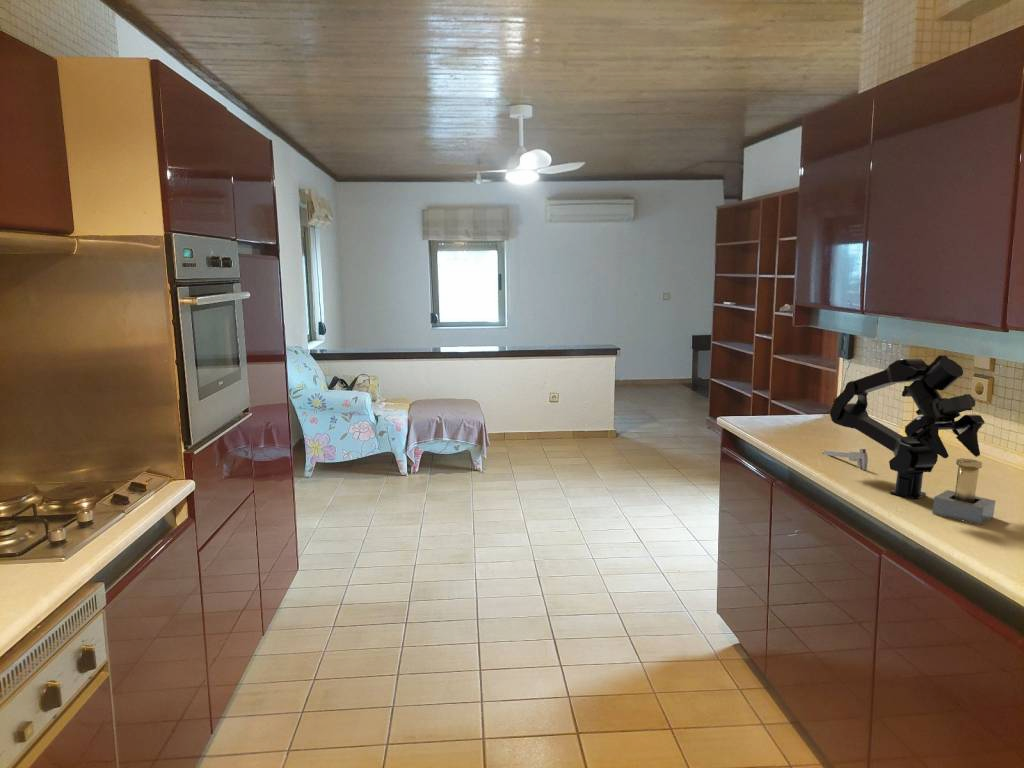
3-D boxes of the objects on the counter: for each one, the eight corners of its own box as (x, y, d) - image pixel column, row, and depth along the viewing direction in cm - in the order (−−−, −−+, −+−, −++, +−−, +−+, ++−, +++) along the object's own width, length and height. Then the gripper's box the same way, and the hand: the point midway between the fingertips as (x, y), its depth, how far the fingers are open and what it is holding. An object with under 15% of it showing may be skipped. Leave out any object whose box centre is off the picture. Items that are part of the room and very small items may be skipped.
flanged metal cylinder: (947, 510, 171) (954, 457, 169) (972, 513, 170) (979, 459, 168) (952, 517, 167) (959, 462, 165) (977, 520, 165) (984, 465, 163)
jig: (945, 506, 175) (947, 490, 174) (993, 517, 167) (995, 500, 167) (932, 513, 169) (934, 497, 168) (980, 525, 162) (983, 508, 161)
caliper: (866, 471, 205) (869, 450, 204) (863, 471, 205) (865, 450, 204) (824, 453, 225) (826, 433, 224) (821, 453, 225) (823, 433, 224)
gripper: (919, 382, 168) (954, 440, 159) (982, 381, 173) (1019, 436, 164) (890, 409, 176) (921, 465, 168) (950, 407, 182) (984, 461, 173)
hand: (962, 456), depth 168 cm, fingers open, 9 cm apart
